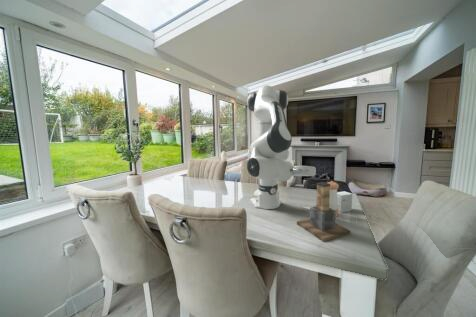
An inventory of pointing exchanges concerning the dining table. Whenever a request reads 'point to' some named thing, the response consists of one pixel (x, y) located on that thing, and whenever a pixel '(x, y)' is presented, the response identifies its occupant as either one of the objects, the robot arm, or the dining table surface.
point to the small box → (344, 201)
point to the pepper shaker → (333, 196)
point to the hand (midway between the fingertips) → (303, 172)
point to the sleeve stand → (323, 225)
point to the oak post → (323, 196)
